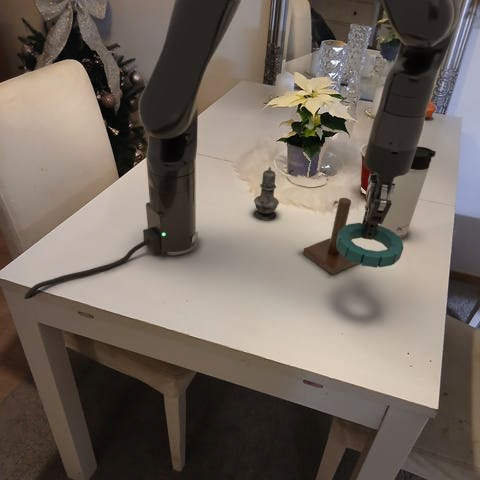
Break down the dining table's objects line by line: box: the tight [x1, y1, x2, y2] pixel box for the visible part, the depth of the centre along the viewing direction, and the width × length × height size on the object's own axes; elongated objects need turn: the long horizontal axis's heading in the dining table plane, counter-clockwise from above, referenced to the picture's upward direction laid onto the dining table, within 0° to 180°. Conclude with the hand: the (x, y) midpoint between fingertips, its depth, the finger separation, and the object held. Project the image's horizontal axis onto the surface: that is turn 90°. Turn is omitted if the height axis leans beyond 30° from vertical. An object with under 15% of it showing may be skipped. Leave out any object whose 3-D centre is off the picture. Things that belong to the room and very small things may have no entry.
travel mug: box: [379, 146, 437, 240], centre depth 105 cm, size 6×7×20 cm
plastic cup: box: [359, 142, 371, 199], centre depth 122 cm, size 11×11×12 cm
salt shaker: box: [253, 166, 280, 221], centre depth 111 cm, size 6×6×12 cm
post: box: [302, 197, 357, 276], centre depth 98 cm, size 9×9×14 cm
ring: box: [336, 222, 405, 269], centre depth 83 cm, size 11×11×2 cm
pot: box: [425, 99, 437, 119], centre depth 173 cm, size 8×8×7 cm
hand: (367, 234), depth 86 cm, fingers closed on ring, 2 cm apart
